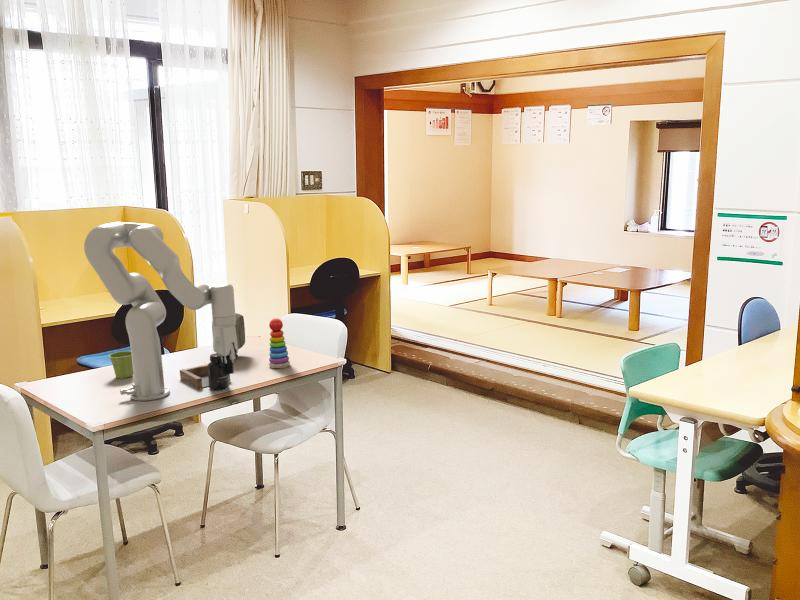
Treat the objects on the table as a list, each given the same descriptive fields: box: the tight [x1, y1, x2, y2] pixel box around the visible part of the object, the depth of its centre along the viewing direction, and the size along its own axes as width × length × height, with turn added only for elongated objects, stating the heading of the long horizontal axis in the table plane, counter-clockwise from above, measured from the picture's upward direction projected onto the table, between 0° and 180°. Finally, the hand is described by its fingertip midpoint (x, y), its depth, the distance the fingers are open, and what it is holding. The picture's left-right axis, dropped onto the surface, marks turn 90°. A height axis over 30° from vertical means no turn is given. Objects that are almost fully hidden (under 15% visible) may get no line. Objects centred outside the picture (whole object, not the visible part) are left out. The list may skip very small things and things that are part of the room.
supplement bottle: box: [208, 352, 230, 391], centre depth 250 cm, size 7×7×12 cm
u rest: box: [179, 363, 231, 390], centre depth 260 cm, size 12×16×4 cm
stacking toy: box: [268, 318, 291, 369], centre depth 274 cm, size 8×8×19 cm
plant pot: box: [108, 350, 134, 379], centre depth 268 cm, size 9×9×9 cm
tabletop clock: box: [211, 312, 246, 359], centre depth 288 cm, size 14×9×25 cm, turn 177°
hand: (228, 373), depth 243 cm, fingers closed
